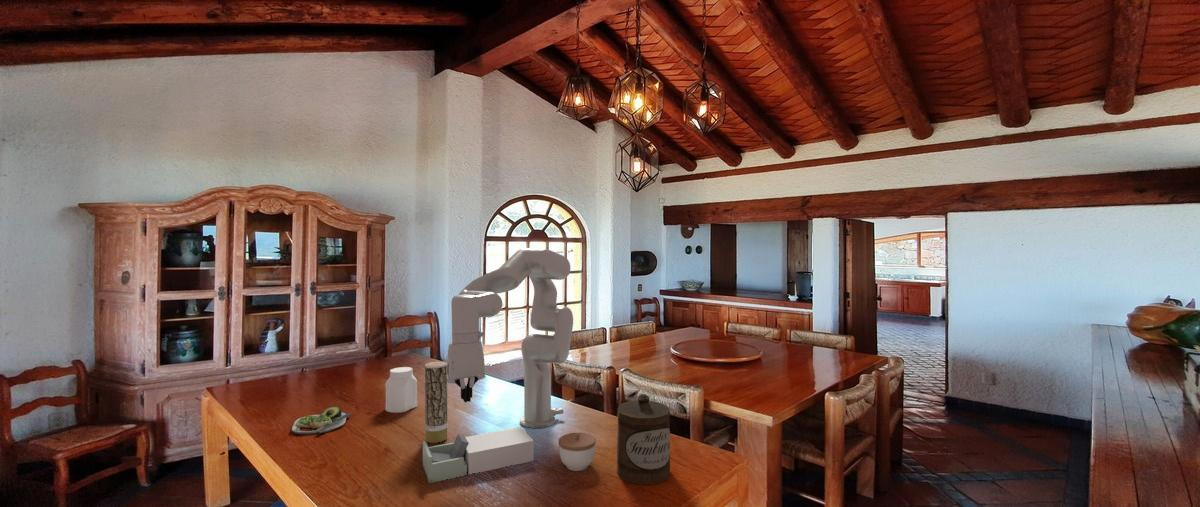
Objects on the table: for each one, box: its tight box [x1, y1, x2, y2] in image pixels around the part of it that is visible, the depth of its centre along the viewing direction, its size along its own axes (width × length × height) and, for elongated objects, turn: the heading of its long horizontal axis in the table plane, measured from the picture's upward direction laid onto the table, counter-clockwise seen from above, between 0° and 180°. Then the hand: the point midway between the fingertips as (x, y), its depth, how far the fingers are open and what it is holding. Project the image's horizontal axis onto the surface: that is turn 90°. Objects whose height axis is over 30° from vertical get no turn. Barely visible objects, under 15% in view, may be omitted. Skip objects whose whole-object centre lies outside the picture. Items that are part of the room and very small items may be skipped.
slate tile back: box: [449, 433, 469, 459], centre depth 138 cm, size 6×6×2 cm
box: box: [422, 440, 468, 484], centre depth 136 cm, size 10×12×7 cm
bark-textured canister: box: [424, 361, 448, 444], centre depth 157 cm, size 7×7×25 cm
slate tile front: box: [430, 452, 451, 463], centre depth 136 cm, size 6×6×2 cm
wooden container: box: [616, 393, 671, 486], centre depth 135 cm, size 15×15×22 cm
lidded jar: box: [558, 432, 597, 472], centre depth 139 cm, size 11×11×9 cm
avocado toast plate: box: [291, 406, 352, 436], centre depth 169 cm, size 19×18×5 cm
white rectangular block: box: [463, 426, 535, 475], centre depth 143 cm, size 19×12×6 cm, turn 118°
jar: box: [384, 366, 418, 414], centre depth 189 cm, size 12×10×15 cm
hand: (466, 400), depth 139 cm, fingers closed
